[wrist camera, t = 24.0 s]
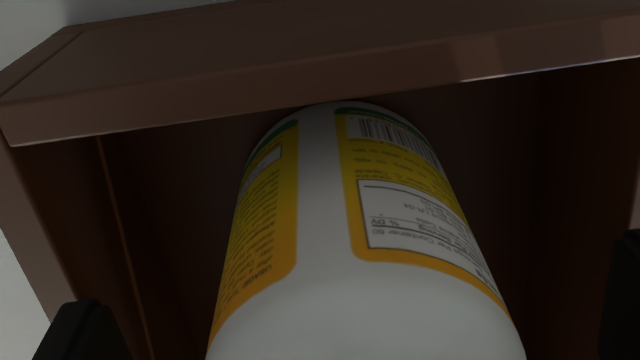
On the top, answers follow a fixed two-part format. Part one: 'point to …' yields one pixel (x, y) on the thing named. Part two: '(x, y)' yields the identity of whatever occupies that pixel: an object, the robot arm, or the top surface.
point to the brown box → (296, 94)
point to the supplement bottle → (354, 250)
